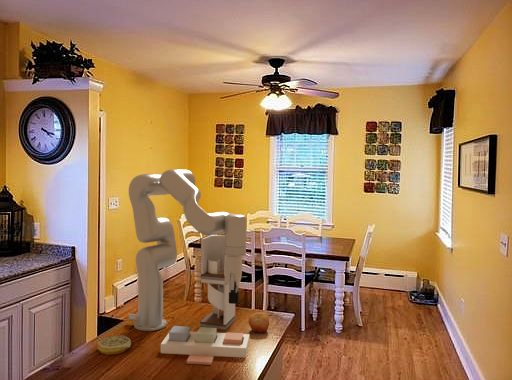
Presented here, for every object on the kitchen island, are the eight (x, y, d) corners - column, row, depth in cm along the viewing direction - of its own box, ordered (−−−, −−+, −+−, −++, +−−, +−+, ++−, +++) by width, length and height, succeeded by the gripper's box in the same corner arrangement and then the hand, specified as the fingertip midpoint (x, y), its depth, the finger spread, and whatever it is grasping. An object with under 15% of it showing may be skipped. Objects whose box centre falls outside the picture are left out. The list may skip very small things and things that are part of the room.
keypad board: (160, 353, 144) (160, 343, 144) (170, 339, 156) (170, 330, 156) (245, 357, 142) (246, 348, 142) (249, 343, 154) (249, 334, 154)
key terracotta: (223, 348, 145) (223, 339, 145) (226, 341, 151) (226, 332, 151) (241, 349, 145) (241, 339, 145) (243, 342, 151) (243, 333, 151)
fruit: (270, 322, 171) (269, 309, 167) (268, 339, 164) (268, 325, 160) (250, 321, 172) (249, 307, 167) (248, 337, 165) (247, 324, 161)
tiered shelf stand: (210, 317, 180) (212, 234, 178) (234, 320, 177) (236, 236, 175) (200, 326, 169) (201, 238, 167) (225, 329, 166) (226, 240, 164)
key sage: (196, 342, 146) (196, 333, 146) (199, 336, 152) (199, 327, 152) (213, 343, 146) (213, 334, 146) (216, 336, 152) (216, 328, 152)
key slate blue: (169, 341, 147) (169, 332, 147) (173, 334, 153) (173, 325, 153) (186, 342, 146) (186, 333, 146) (190, 335, 152) (190, 326, 152)
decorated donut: (136, 349, 147) (136, 339, 147) (107, 359, 139) (107, 348, 139) (120, 341, 154) (121, 330, 154) (92, 349, 146) (92, 339, 146)
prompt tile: (186, 363, 137) (186, 361, 137) (190, 356, 142) (190, 354, 142) (211, 364, 136) (211, 362, 136) (213, 357, 141) (213, 355, 141)
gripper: (227, 245, 154) (226, 295, 155) (220, 254, 139) (219, 309, 140) (247, 246, 154) (246, 297, 155) (243, 255, 139) (241, 310, 140)
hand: (233, 302), depth 148 cm, fingers closed
